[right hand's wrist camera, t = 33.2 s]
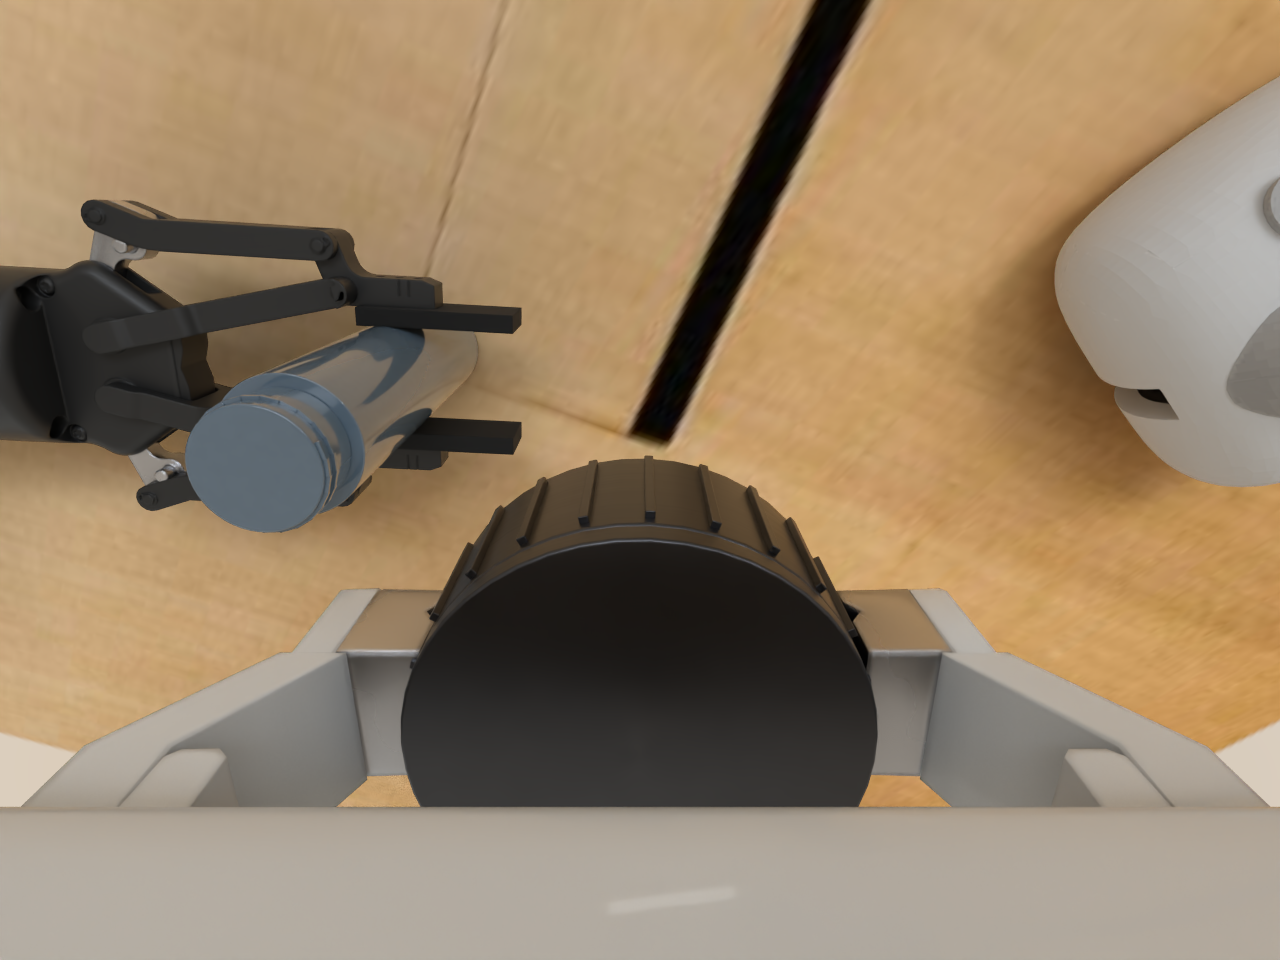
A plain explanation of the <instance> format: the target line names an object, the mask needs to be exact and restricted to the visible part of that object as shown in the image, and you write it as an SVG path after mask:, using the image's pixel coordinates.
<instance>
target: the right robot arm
mask: <svg viewBox="0 0 1280 960" xmlns="http://www.w3.org/2000/svg"><path fill="white" fill-rule="evenodd" d="M442 592H443V590H397V589H383V590H381V589H379V588H377V589H347V590H341V591H340V592H339V593H338V594H337V596H336V597H335V598H334V599H333V601H332V602H331V603H330V605H329V606H328V607H327V608H326V610H325V611H324V612H323V613H322V615H321V616H320V617H319V618H318V620H317V621H316V622H315V624H314V625H313V626H312V627H311V629H310V630H309V631H308V632H307V634H306V635H305V636H304V637H303V639H302V640H301V641H300V643H299V644H298V645H297V646H296V648H295V649H294V650H293V651H292V653H278V654H276V655H274V656H272V657H270V658H268V659H265V660H263V661H261V662H259V663H257V664H255V665H253V666H251V667H249V668H246V669H244V670H242V671H240V672H238V673H236V674H234V675H232V676H230V677H228V678H225V679H223V680H221V681H219V682H217V683H215V684H213V685H211V686H209V687H207V688H204V689H202V690H200V691H198V692H196V693H194V694H192V695H190V696H188V697H186V698H183V699H181V700H179V701H177V702H175V703H173V704H171V705H169V706H167V707H165V708H162V709H160V710H158V711H156V712H154V713H152V714H150V715H148V716H146V717H144V718H141V719H139V720H137V721H135V722H133V723H131V724H129V725H127V726H125V727H123V728H120V729H118V730H116V731H114V732H112V733H110V734H108V735H106V736H104V737H101V738H99V739H97V740H95V741H93V742H91V743H89V744H87V745H85V746H83V747H82V748H81V749H80V750H79V751H78V752H77V753H76V754H75V755H74V756H73V757H72V758H71V759H70V760H69V761H68V762H67V763H66V764H65V765H64V766H63V767H62V768H61V769H60V770H58V771H57V772H56V773H55V774H54V775H53V776H52V777H51V778H50V779H49V780H48V781H47V782H46V783H45V784H44V785H43V786H42V787H41V788H40V789H39V790H38V791H37V792H36V793H35V794H34V795H33V796H32V797H30V798H29V799H28V800H27V801H26V802H25V803H24V804H23V805H22V806H21V807H0V960H1280V807H1270V806H1269V805H1268V804H1267V803H1266V802H1265V801H1264V800H1263V799H1262V798H1261V797H1260V796H1258V795H1257V794H1256V793H1255V792H1254V791H1253V790H1252V789H1251V788H1250V787H1249V786H1248V785H1247V784H1246V783H1245V782H1244V781H1243V780H1242V779H1241V778H1240V777H1239V776H1238V775H1237V774H1235V773H1234V772H1233V771H1232V770H1231V769H1230V768H1229V767H1228V766H1227V765H1226V764H1225V763H1224V762H1223V761H1222V760H1221V759H1220V758H1219V757H1218V756H1217V755H1216V754H1215V753H1213V752H1212V751H1211V750H1210V749H1209V748H1208V747H1207V746H1205V745H1203V744H1200V743H1198V742H1196V741H1194V740H1192V739H1190V738H1188V737H1186V736H1184V735H1181V734H1179V733H1177V732H1175V731H1173V730H1171V729H1169V728H1167V727H1164V726H1162V725H1160V724H1158V723H1156V722H1154V721H1152V720H1150V719H1148V718H1145V717H1143V716H1141V715H1139V714H1137V713H1135V712H1133V711H1131V710H1129V709H1126V708H1124V707H1122V706H1120V705H1118V704H1116V703H1114V702H1112V701H1109V700H1107V699H1105V698H1103V697H1101V696H1099V695H1097V694H1095V693H1093V692H1090V691H1088V690H1086V689H1084V688H1082V687H1080V686H1078V685H1076V684H1074V683H1071V682H1069V681H1067V680H1065V679H1063V678H1061V677H1059V676H1057V675H1054V674H1052V673H1050V672H1048V671H1046V670H1044V669H1042V668H1040V667H1038V666H1035V665H1033V664H1031V663H1029V662H1027V661H1025V660H1023V659H1021V658H1019V657H1016V656H1014V655H1012V654H1010V653H996V651H995V650H994V649H993V648H992V647H991V645H990V644H989V643H988V642H987V640H986V639H985V638H984V637H983V635H982V634H981V633H980V632H979V630H978V629H977V628H976V627H975V626H974V624H973V623H972V622H971V621H970V619H969V618H968V617H967V616H966V614H965V613H964V612H963V611H962V610H961V608H960V607H959V606H958V605H957V603H956V602H955V601H954V600H953V598H952V597H951V596H950V595H949V594H948V592H947V591H945V590H942V589H940V588H935V589H912V590H908V589H894V590H852V591H836V592H837V594H838V596H839V598H840V600H841V602H842V604H843V606H844V608H845V610H846V612H847V614H848V616H849V618H850V620H851V622H852V624H853V626H854V628H855V630H856V632H857V634H858V636H856V637H853V638H852V640H853V643H854V645H855V647H856V649H857V651H858V653H859V655H860V657H861V659H862V662H863V664H864V667H865V669H866V672H867V674H868V676H870V678H871V684H872V690H873V694H874V699H875V704H876V708H877V726H878V739H877V747H876V755H875V762H874V766H873V769H872V773H871V775H897V776H920V780H922V781H923V782H924V783H925V784H926V785H927V786H929V787H930V788H931V789H932V790H933V791H934V792H935V793H937V794H938V795H939V796H940V797H941V798H942V799H944V800H945V801H946V802H947V803H948V804H949V805H950V806H952V807H336V806H338V805H339V804H340V803H341V802H342V801H343V800H344V799H346V798H347V797H348V796H349V795H350V794H351V793H352V792H354V791H355V790H356V789H357V788H358V787H359V786H360V785H362V784H363V783H364V782H365V781H366V780H367V776H389V775H407V773H406V770H405V764H404V758H403V753H402V747H401V712H402V705H403V699H404V692H405V689H406V686H407V683H408V680H409V677H410V674H411V671H412V669H410V663H411V660H412V659H413V660H417V658H418V655H419V653H420V651H421V650H422V647H423V645H424V643H425V641H426V639H427V637H428V635H429V633H430V631H431V629H432V627H433V625H434V623H435V622H434V621H432V620H430V619H429V617H430V615H431V613H432V611H433V609H434V607H435V605H436V603H437V601H438V599H439V597H440V596H441V594H442Z"/></svg>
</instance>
